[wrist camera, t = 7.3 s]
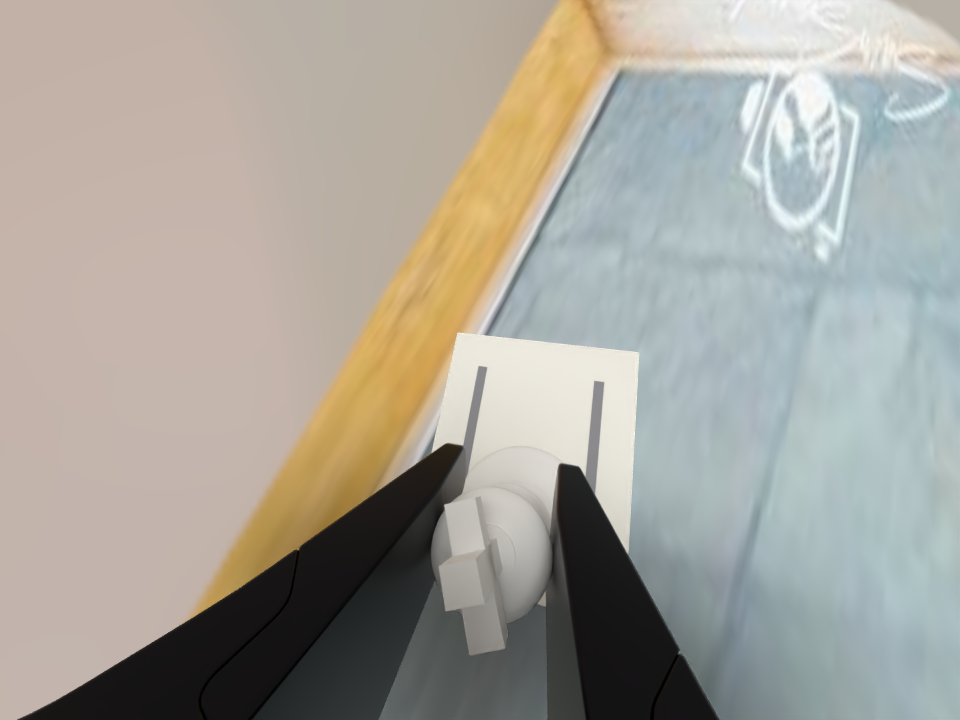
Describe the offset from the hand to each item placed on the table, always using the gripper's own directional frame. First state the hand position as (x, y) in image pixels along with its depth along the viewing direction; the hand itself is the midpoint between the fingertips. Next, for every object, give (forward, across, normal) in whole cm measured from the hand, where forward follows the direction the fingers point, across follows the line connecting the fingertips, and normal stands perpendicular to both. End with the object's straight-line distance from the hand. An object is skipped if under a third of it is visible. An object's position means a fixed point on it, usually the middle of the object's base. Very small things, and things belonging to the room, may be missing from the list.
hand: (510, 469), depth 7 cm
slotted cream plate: (+6, 0, +5) cm, 8 cm away
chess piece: (+4, 0, +6) cm, 7 cm away
